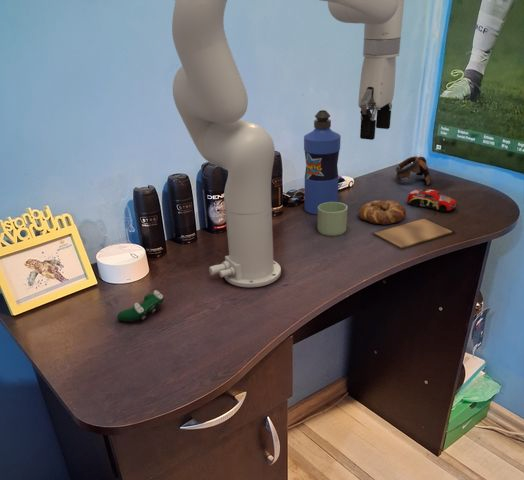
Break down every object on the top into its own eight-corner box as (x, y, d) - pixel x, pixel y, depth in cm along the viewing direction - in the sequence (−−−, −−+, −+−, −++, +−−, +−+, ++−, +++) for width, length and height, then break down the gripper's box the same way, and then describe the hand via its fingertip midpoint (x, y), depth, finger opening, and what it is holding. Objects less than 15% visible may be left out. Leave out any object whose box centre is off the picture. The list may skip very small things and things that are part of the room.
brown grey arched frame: (427, 190, 158) (416, 166, 154) (399, 199, 165) (387, 176, 161) (440, 168, 164) (429, 144, 160) (412, 177, 171) (401, 154, 167)
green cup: (328, 238, 133) (328, 215, 129) (311, 228, 138) (312, 205, 135) (352, 231, 136) (353, 208, 132) (335, 222, 141) (336, 199, 137)
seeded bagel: (357, 225, 138) (358, 211, 136) (358, 209, 147) (359, 196, 145) (406, 226, 136) (407, 212, 134) (404, 210, 145) (405, 197, 143)
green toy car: (126, 332, 106) (139, 319, 101) (114, 317, 105) (126, 303, 101) (158, 310, 112) (171, 297, 108) (146, 295, 112) (158, 282, 107)
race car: (458, 208, 145) (461, 193, 143) (450, 214, 142) (452, 199, 139) (413, 198, 152) (415, 184, 150) (404, 204, 149) (406, 189, 146)
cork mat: (400, 248, 126) (401, 247, 126) (374, 234, 134) (374, 232, 133) (452, 232, 132) (452, 231, 132) (423, 219, 139) (423, 218, 139)
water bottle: (318, 199, 155) (320, 105, 140) (344, 206, 149) (349, 109, 135) (296, 209, 149) (296, 112, 135) (323, 217, 144) (325, 117, 129)
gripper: (378, 42, 121) (373, 123, 131) (348, 53, 109) (344, 141, 119) (412, 42, 117) (403, 125, 127) (384, 54, 105) (377, 145, 115)
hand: (375, 133), depth 123 cm, fingers open, 9 cm apart
